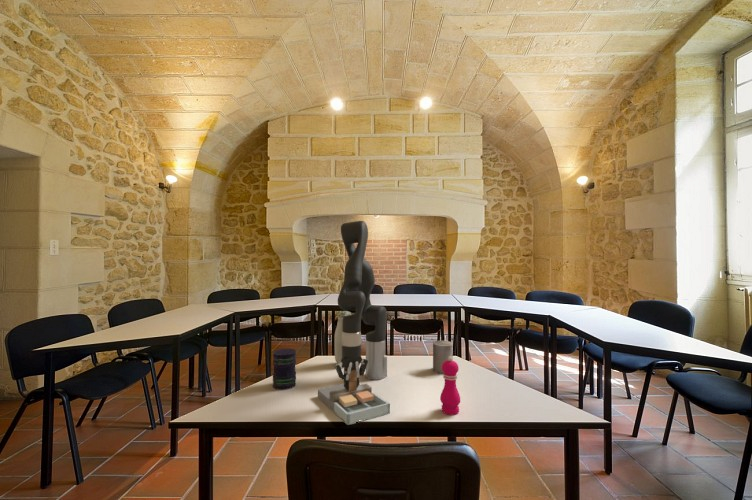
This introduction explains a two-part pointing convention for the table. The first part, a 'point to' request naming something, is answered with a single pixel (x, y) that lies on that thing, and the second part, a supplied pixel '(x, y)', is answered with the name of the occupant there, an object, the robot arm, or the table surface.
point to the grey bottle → (339, 336)
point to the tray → (363, 410)
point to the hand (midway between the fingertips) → (351, 387)
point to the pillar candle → (441, 354)
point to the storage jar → (284, 369)
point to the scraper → (350, 388)
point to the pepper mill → (450, 388)
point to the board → (325, 394)
